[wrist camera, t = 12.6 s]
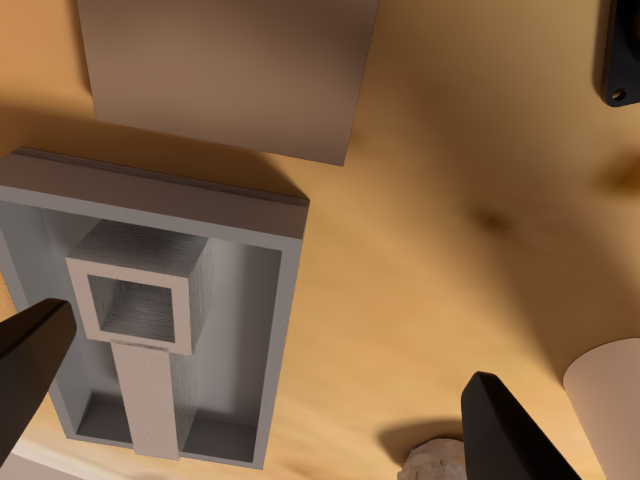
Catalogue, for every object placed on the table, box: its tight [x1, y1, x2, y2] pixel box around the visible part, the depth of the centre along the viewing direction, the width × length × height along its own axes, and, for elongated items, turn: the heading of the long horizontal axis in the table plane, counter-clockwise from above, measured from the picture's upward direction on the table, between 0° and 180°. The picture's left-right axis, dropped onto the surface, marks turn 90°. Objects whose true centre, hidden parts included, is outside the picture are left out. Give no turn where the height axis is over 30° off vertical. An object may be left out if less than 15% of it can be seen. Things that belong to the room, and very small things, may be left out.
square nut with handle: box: [65, 219, 214, 461], centre depth 24 cm, size 17×5×4 cm, turn 171°
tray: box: [0, 147, 310, 470], centre depth 25 cm, size 22×15×4 cm
